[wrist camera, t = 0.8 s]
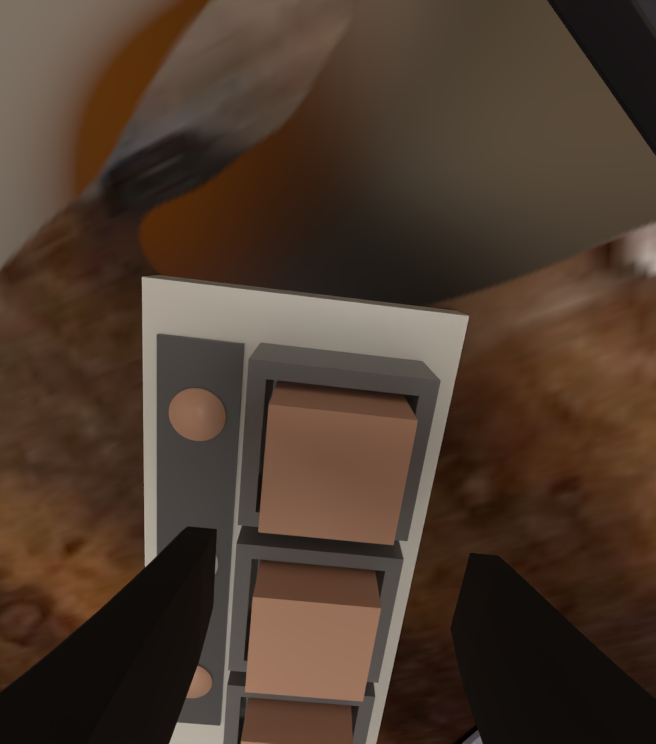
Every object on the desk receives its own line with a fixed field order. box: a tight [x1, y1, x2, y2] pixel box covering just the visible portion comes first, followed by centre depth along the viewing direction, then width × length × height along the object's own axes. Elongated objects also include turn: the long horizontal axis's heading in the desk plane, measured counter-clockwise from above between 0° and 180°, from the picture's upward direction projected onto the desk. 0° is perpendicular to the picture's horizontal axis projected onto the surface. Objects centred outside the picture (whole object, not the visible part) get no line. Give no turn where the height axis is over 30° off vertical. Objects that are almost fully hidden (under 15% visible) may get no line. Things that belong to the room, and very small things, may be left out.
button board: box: [142, 275, 469, 744], centre depth 17 cm, size 24×12×4 cm, turn 173°
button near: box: [258, 380, 418, 545], centre depth 13 cm, size 4×4×2 cm
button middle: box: [245, 560, 381, 701], centre depth 15 cm, size 4×4×2 cm
